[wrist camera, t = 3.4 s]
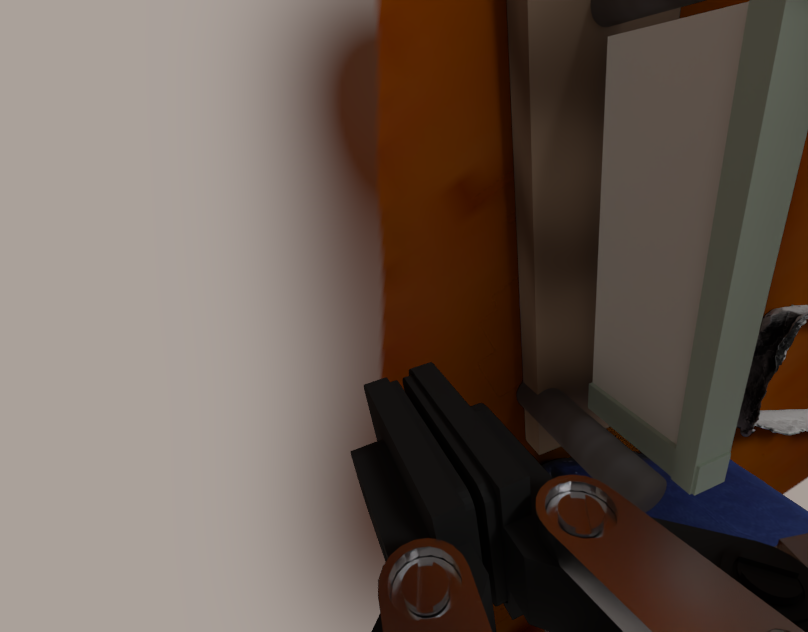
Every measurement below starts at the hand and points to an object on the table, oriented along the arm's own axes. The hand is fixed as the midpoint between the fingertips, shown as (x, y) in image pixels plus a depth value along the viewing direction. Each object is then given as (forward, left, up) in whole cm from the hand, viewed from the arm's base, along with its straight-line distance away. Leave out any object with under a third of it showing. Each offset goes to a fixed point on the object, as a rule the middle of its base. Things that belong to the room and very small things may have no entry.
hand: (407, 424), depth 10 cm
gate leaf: (0, +10, -5) cm, 12 cm away
